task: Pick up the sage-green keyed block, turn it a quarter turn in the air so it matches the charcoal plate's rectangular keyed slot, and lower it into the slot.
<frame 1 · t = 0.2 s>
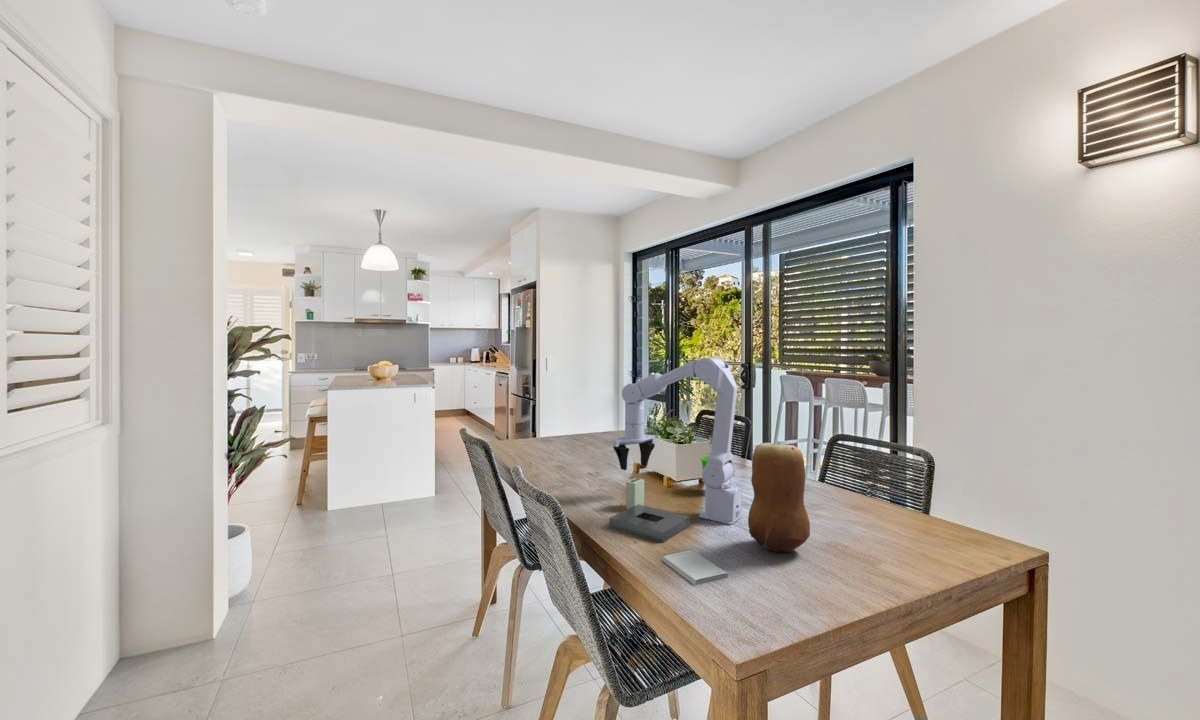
hand: (633, 467, 155), 10 cm above the table, fingers open, 7 cm apart
keyed block: (635, 508, 148), on the table
butternut squash: (777, 550, 120), on the table
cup: (714, 493, 163), on the table
hard drive: (693, 572, 109), on the table
key plate: (649, 526, 133), on the table
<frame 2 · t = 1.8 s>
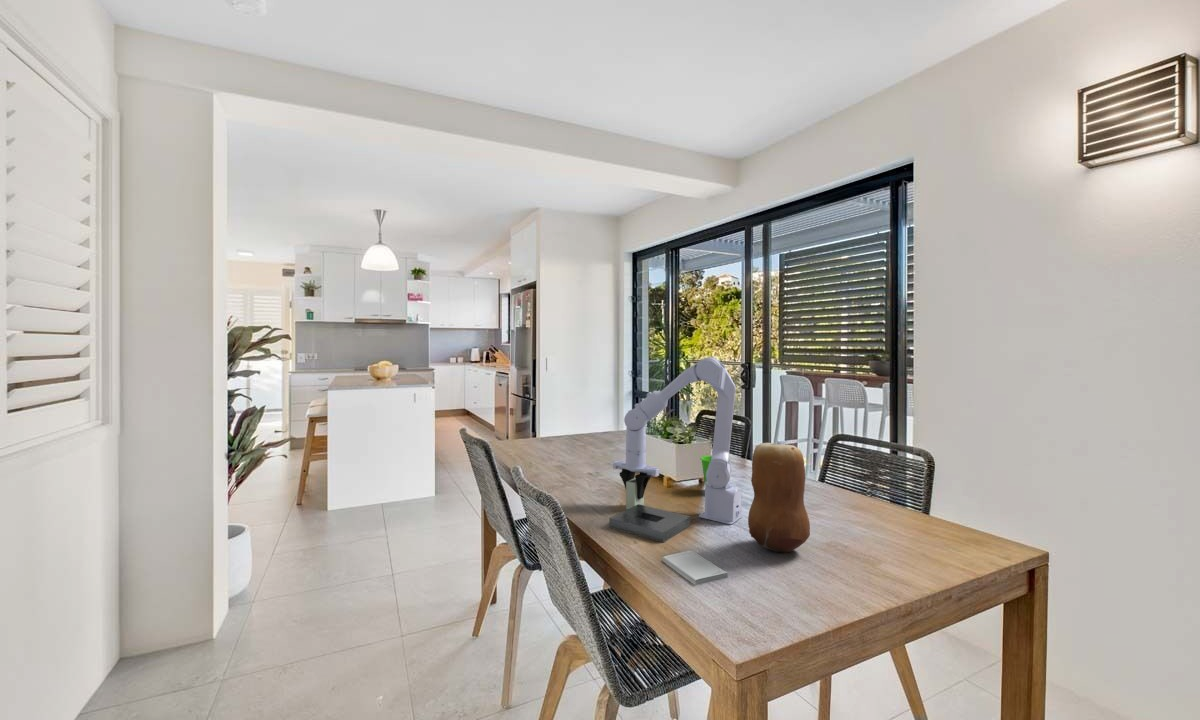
hand: (635, 496, 148), 3 cm above the table, fingers closed on keyed block, 3 cm apart
keyed block: (635, 508, 148), on the table, touching gripper
everything else where it was.
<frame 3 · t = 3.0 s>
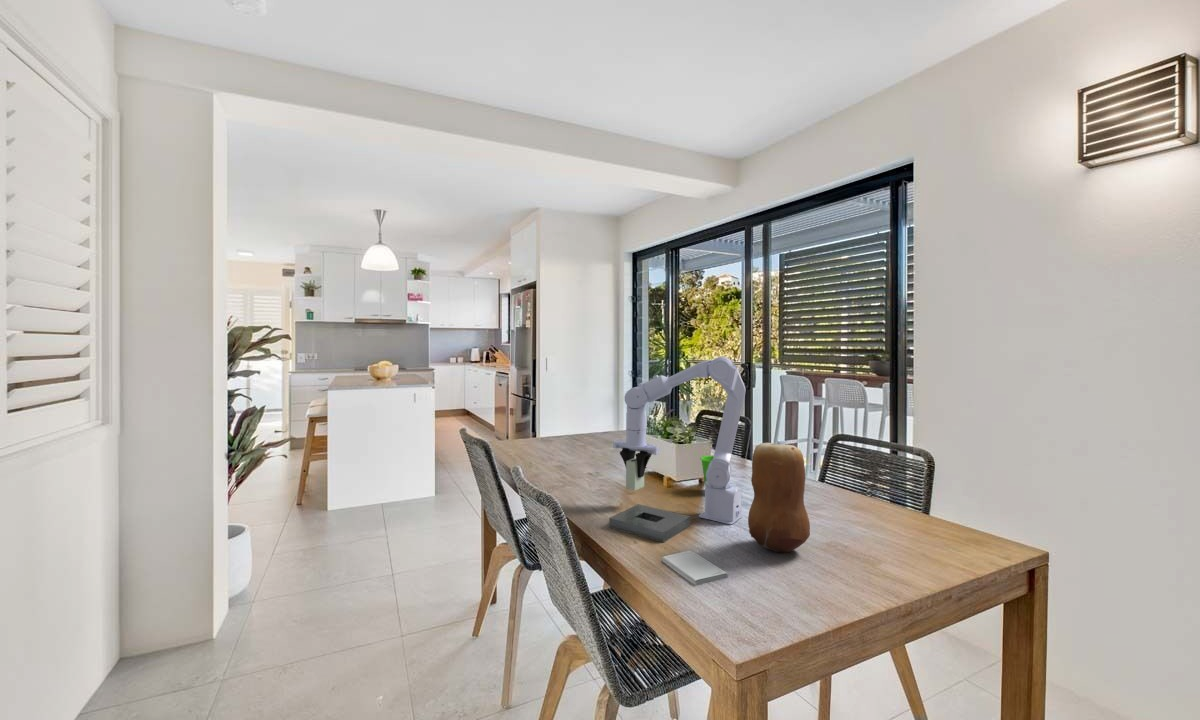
hand: (635, 475, 147), 9 cm above the table, fingers closed on keyed block, 3 cm apart
keyed block: (635, 487, 147), point 6 cm above the table, touching gripper
everything else where it was.
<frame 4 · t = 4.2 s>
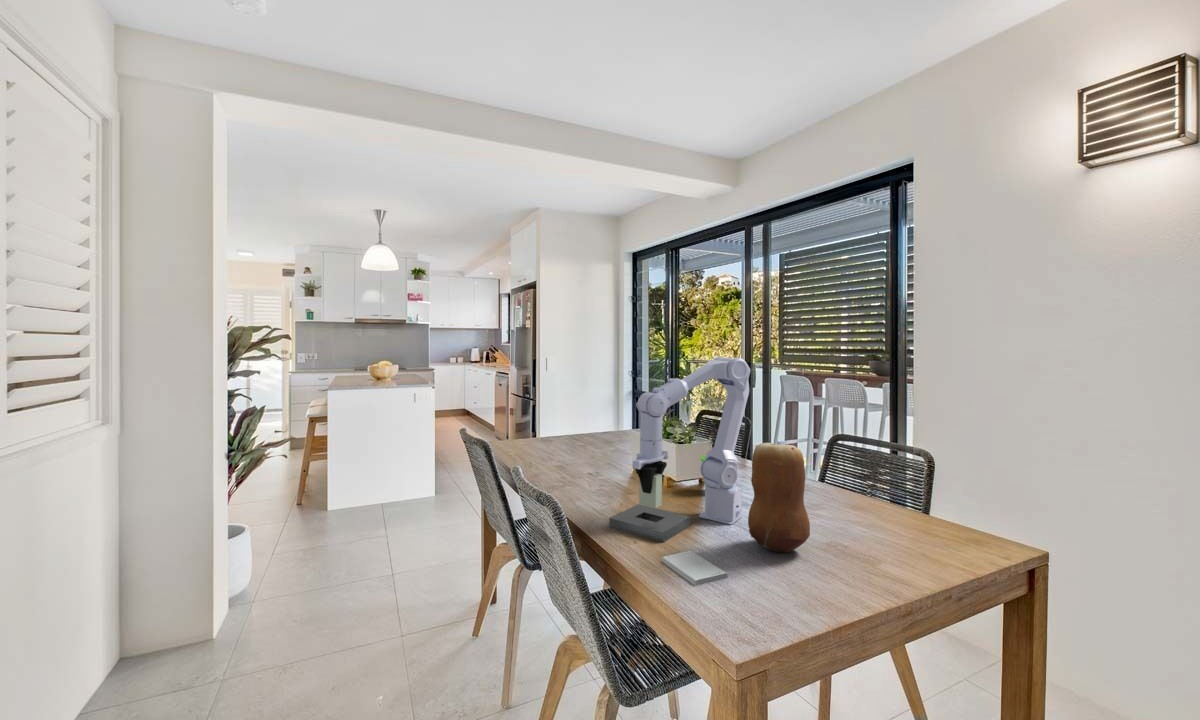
hand: (650, 491, 133), 9 cm above the table, fingers closed on keyed block, 3 cm apart
keyed block: (650, 504, 133), point 6 cm above the table, touching gripper
everything else where it was.
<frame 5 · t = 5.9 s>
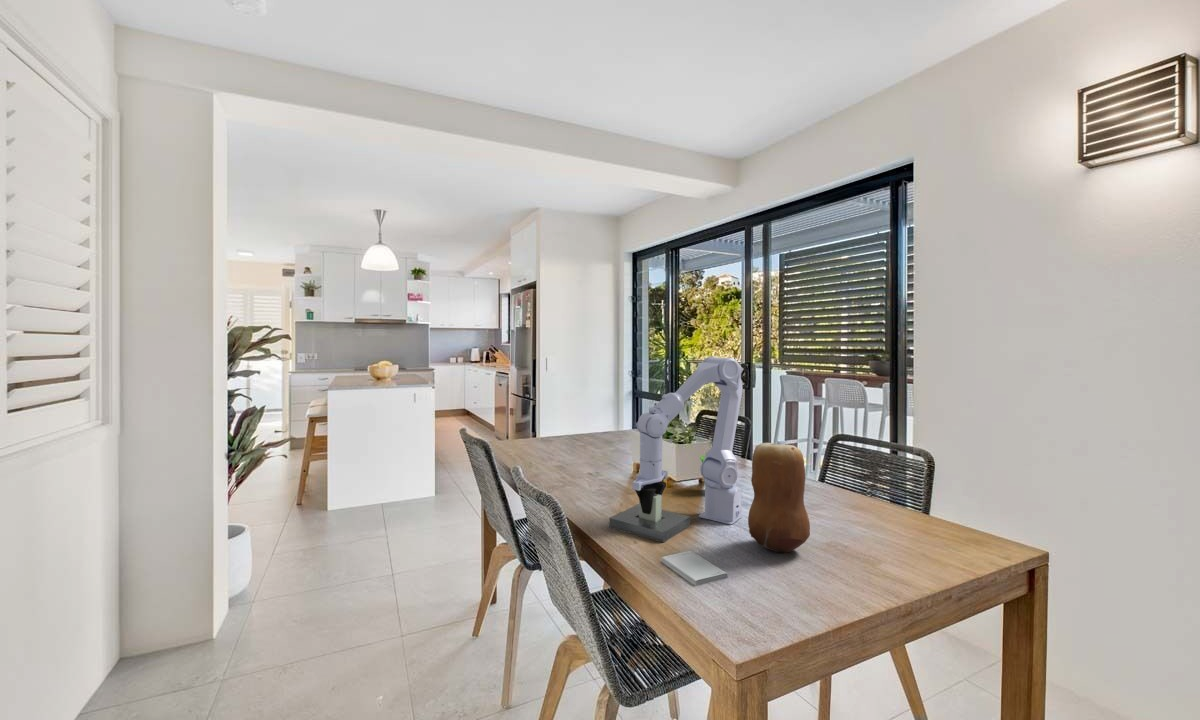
hand: (650, 511, 133), 4 cm above the table, fingers closed on keyed block, 3 cm apart
keyed block: (649, 524, 133), resting in key plate, touching gripper
everything else where it was.
when the fingers open (4 cm above the table, at t = 6.9 s): keyed block stays where it is, resting in key plate.
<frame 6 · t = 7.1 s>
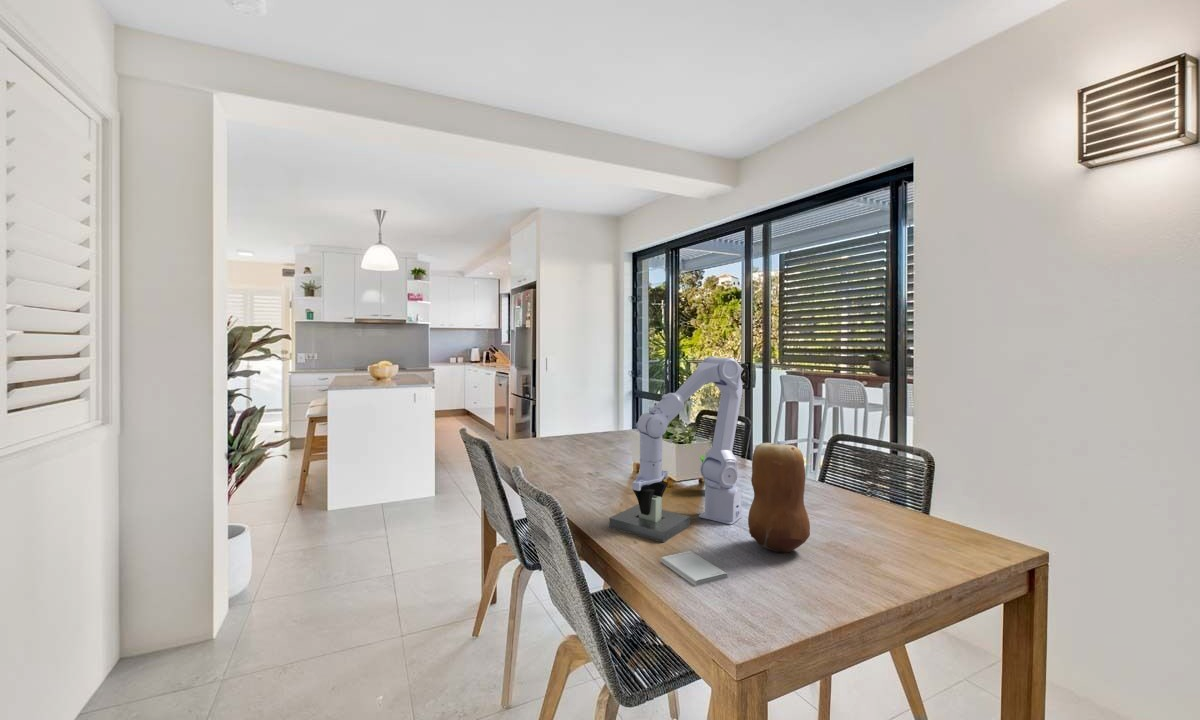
hand: (650, 511, 133), 4 cm above the table, fingers open, 4 cm apart
keyed block: (650, 526, 133), resting in key plate
everything else where it was.
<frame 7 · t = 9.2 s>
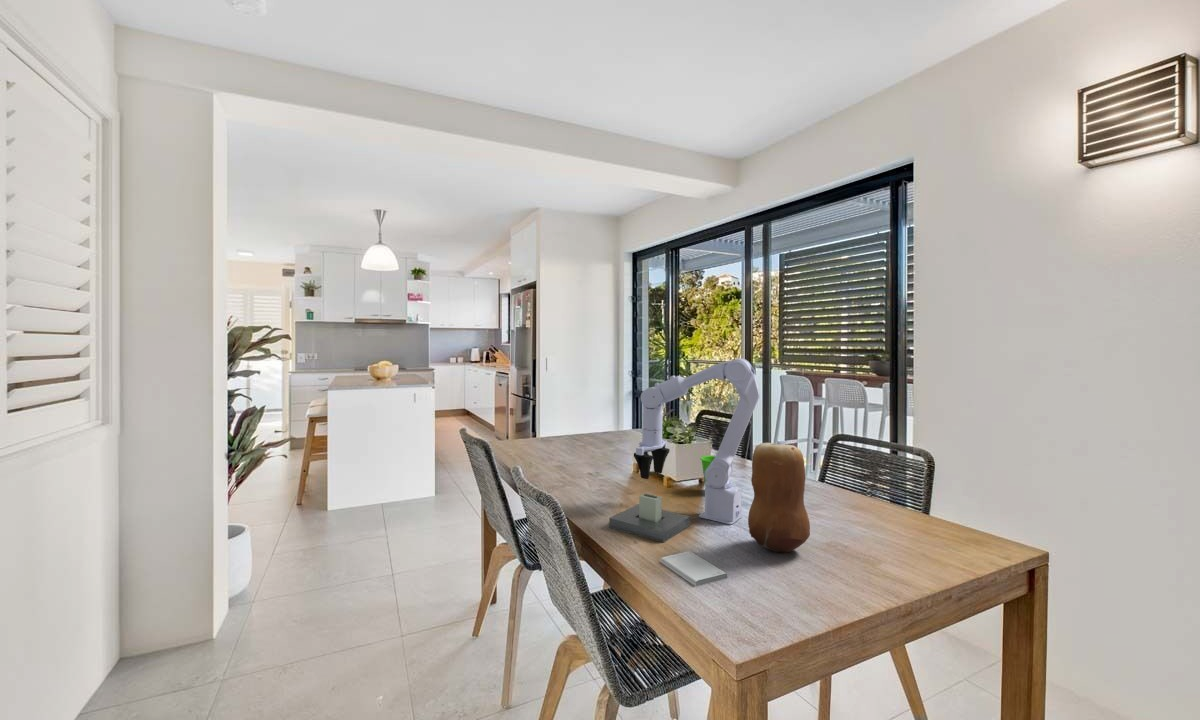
hand: (651, 475, 148), 9 cm above the table, fingers open, 7 cm apart
nothing on the table moved.
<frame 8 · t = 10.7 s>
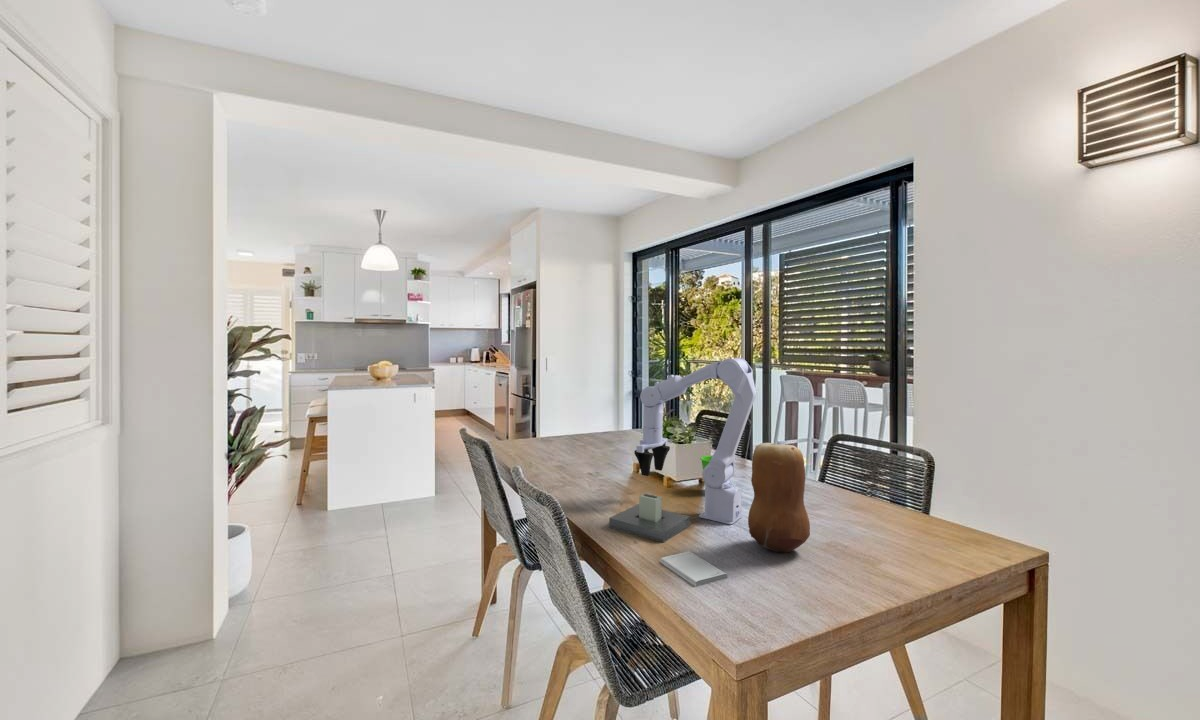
hand: (652, 472, 151), 9 cm above the table, fingers open, 7 cm apart
nothing on the table moved.
at the end: keyed block 0.0 cm off-centre on the key plate, point 0.0 cm above the key plate's base; keyed block tilted 0°; the gripper is holding nothing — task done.
